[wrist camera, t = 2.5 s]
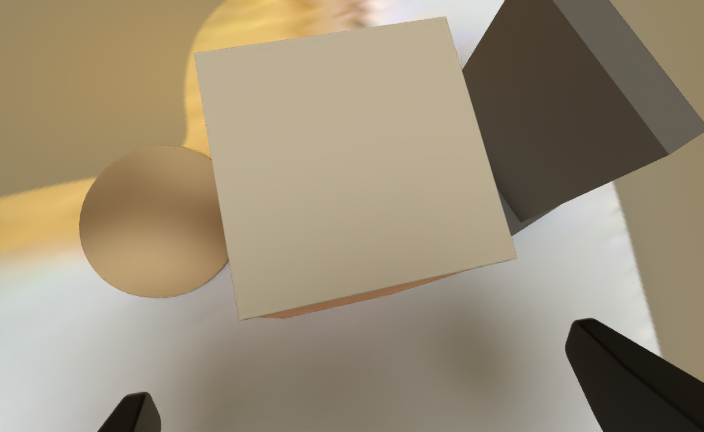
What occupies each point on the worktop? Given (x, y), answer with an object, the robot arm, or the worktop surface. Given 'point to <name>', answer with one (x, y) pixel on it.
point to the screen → (569, 103)
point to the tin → (347, 167)
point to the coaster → (155, 223)
